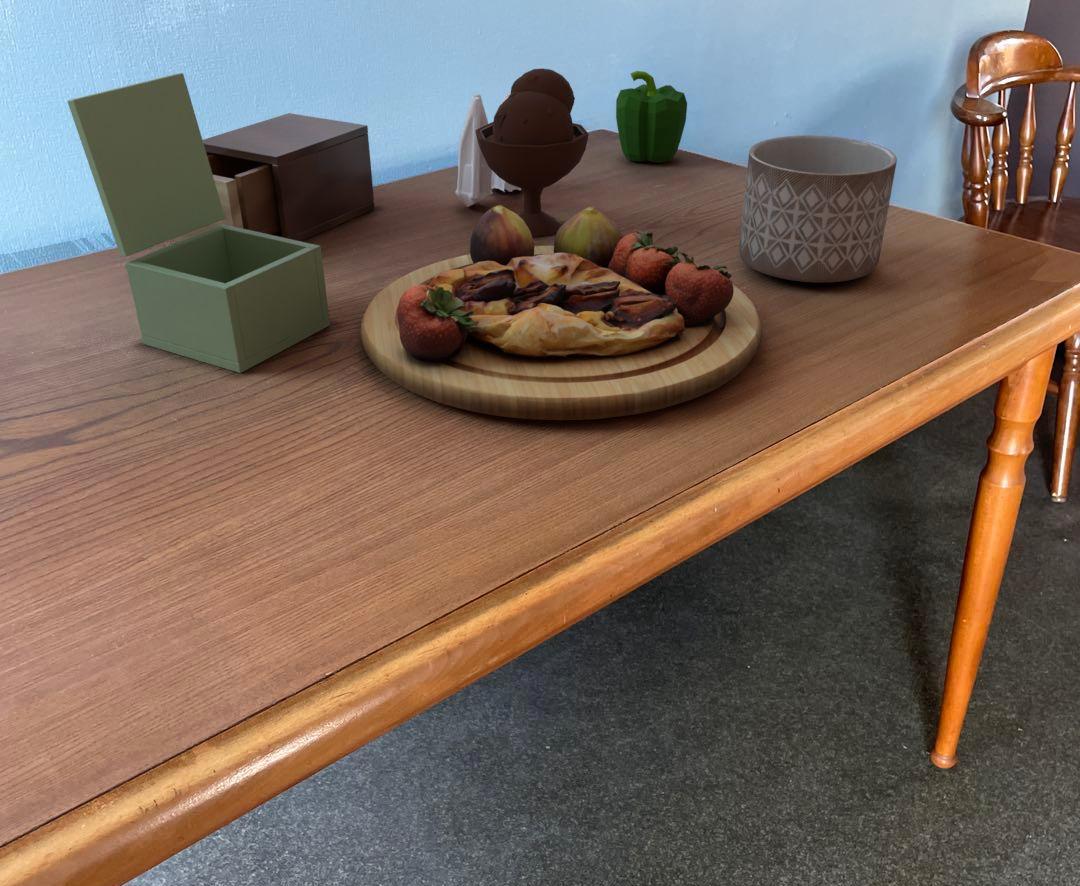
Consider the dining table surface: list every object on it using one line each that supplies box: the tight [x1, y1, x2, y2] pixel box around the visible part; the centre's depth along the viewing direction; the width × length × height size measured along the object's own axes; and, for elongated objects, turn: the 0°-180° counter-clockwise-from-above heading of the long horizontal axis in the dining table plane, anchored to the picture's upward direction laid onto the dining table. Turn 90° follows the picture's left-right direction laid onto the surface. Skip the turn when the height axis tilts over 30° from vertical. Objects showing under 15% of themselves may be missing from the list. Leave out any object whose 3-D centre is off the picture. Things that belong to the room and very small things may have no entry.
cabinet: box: [202, 112, 376, 242], centre depth 111 cm, size 14×11×9 cm
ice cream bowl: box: [475, 68, 590, 238], centre depth 107 cm, size 11×11×15 cm
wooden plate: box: [360, 204, 762, 421], centre depth 86 cm, size 32×32×8 cm
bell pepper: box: [615, 70, 688, 163], centre depth 129 cm, size 8×8×10 cm
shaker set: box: [454, 93, 522, 208], centre depth 116 cm, size 12×4×11 cm, turn 152°
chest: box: [124, 224, 331, 374], centre depth 87 cm, size 11×11×7 cm
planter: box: [738, 134, 898, 284], centre depth 98 cm, size 13×13×10 cm
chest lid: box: [67, 72, 225, 258], centre depth 86 cm, size 11×11×4 cm
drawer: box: [170, 153, 281, 242], centre depth 105 cm, size 17×9×7 cm, turn 149°
